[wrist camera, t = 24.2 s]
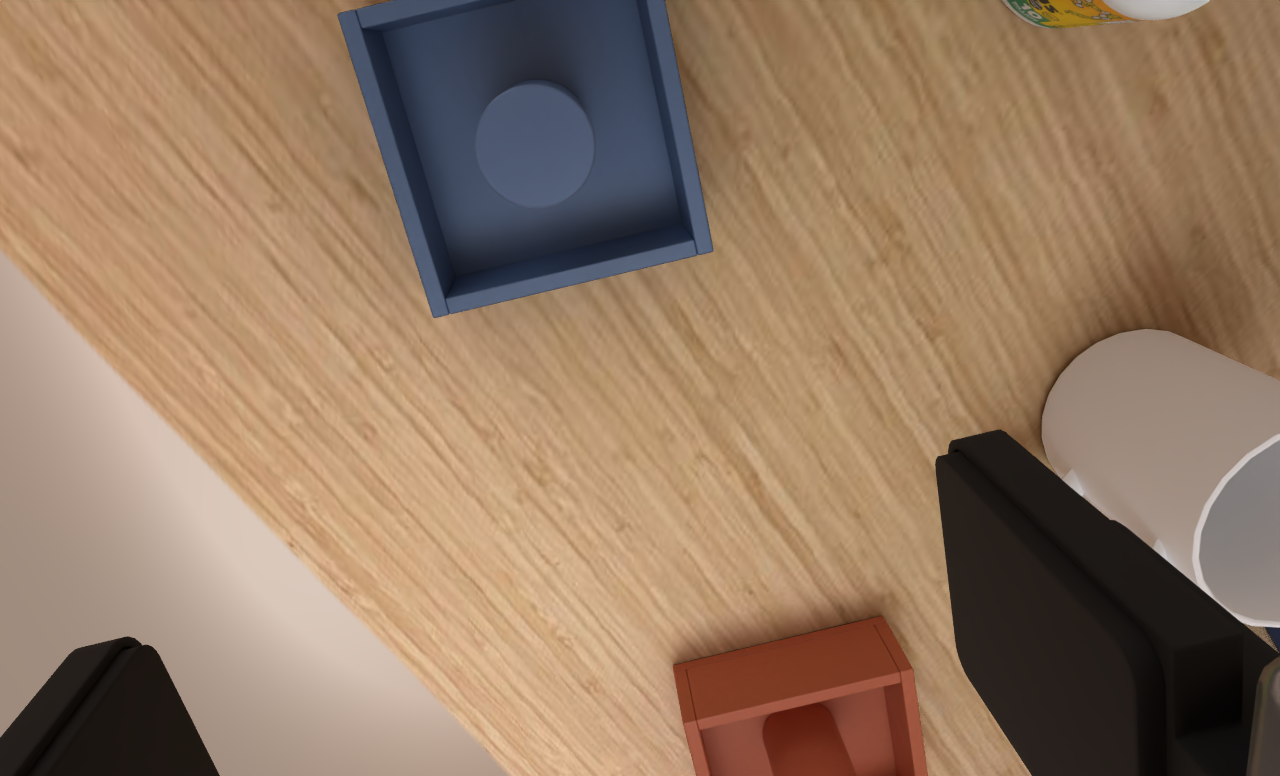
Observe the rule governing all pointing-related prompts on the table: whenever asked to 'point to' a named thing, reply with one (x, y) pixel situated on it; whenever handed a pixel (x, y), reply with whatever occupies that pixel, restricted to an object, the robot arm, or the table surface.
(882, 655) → the terracotta bin
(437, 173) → the slate bin
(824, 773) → the terracotta peg
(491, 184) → the slate peg
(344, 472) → the table surface
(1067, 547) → the robot arm
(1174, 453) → the mug
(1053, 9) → the supplement bottle
